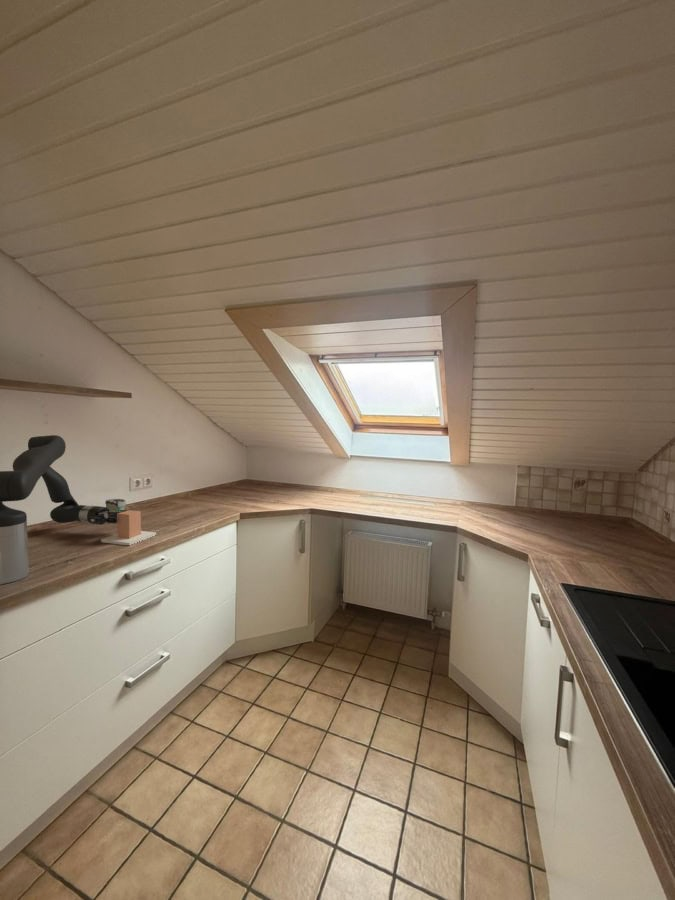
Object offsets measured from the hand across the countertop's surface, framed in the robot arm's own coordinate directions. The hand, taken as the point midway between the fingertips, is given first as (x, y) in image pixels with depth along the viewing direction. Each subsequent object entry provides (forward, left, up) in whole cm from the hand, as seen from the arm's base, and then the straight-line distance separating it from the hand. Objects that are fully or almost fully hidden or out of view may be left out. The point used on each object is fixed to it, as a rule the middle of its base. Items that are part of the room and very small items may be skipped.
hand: (125, 518), depth 144 cm
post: (0, -2, -8) cm, 9 cm away
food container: (+21, +26, -9) cm, 34 cm away
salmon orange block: (0, -2, -7) cm, 8 cm away
